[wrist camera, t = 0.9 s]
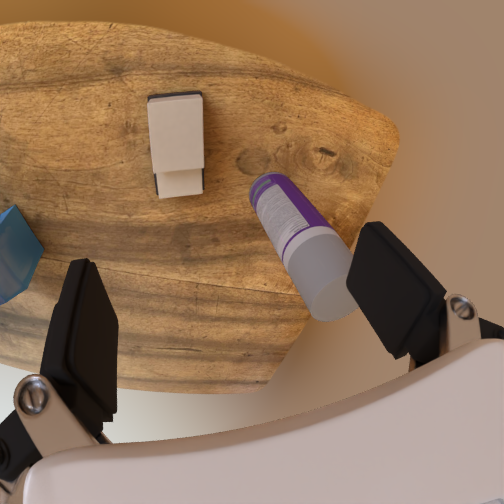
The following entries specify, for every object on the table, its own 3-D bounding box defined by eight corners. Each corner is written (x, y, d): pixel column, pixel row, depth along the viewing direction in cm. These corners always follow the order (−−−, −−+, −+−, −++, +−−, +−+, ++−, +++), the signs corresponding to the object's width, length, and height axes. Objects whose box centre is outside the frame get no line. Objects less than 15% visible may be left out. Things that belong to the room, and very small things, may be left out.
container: (301, 189, 30) (382, 287, 18) (270, 220, 31) (332, 330, 20) (272, 162, 27) (353, 258, 16) (239, 196, 29) (294, 310, 17)
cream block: (148, 95, 20) (144, 100, 17) (200, 90, 21) (205, 95, 18) (157, 190, 26) (155, 210, 23) (203, 184, 27) (208, 204, 24)
